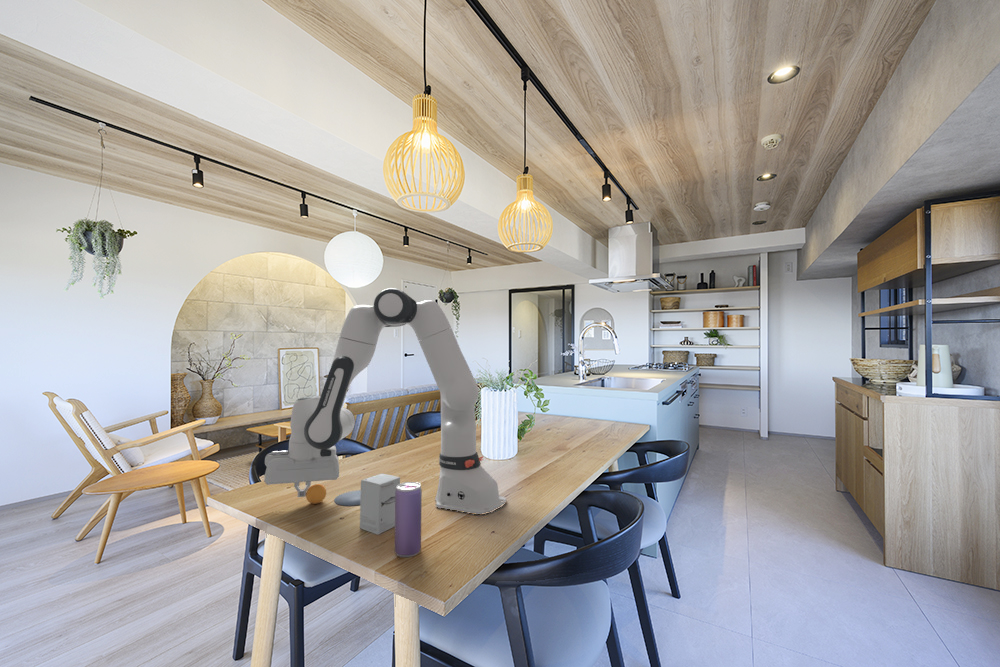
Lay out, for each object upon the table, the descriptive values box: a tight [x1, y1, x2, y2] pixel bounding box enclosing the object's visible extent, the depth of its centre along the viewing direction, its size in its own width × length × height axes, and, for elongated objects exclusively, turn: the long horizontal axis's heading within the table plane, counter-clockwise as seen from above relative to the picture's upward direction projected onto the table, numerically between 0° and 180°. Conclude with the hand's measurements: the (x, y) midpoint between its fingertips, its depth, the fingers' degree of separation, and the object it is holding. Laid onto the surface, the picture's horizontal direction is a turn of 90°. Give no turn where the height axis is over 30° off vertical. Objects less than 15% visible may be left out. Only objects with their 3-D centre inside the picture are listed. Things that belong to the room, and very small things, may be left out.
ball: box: [305, 483, 327, 505], centre depth 122 cm, size 6×6×6 cm
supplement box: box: [359, 473, 401, 536], centre depth 106 cm, size 7×7×13 cm
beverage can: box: [394, 481, 423, 558], centre depth 93 cm, size 6×6×15 cm
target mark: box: [333, 489, 361, 507], centre depth 126 cm, size 13×13×1 cm
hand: (301, 496), depth 121 cm, fingers closed
